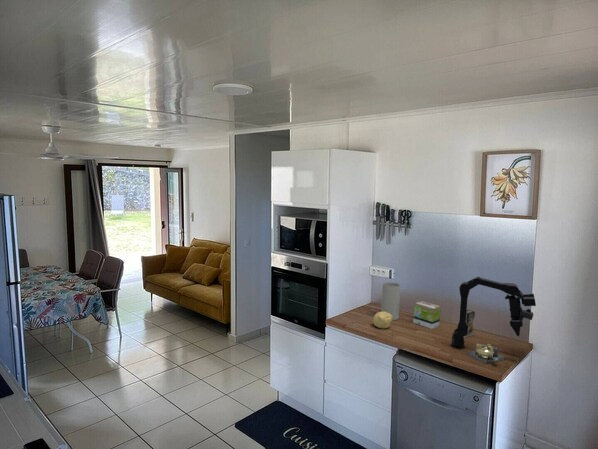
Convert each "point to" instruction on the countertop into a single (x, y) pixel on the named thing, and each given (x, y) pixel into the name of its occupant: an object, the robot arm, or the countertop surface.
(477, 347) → the yellow-green irregular lump
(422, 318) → the tea box
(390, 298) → the cylinder vase
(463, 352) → the countertop surface
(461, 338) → the robot arm
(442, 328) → the countertop surface
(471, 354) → the mounting plate
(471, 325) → the coffee box
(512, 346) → the countertop surface
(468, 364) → the countertop surface
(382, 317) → the yellow crumpled ball
